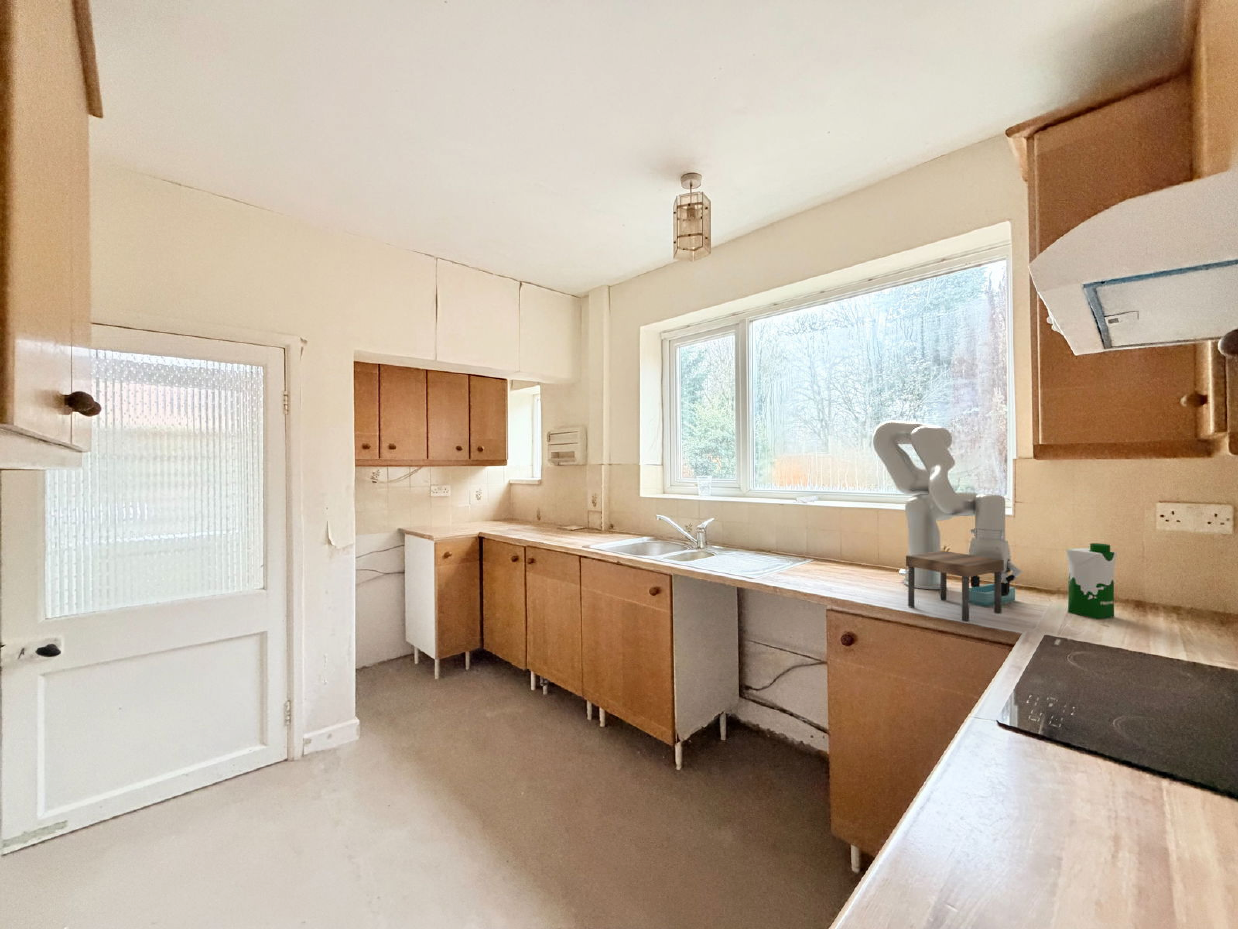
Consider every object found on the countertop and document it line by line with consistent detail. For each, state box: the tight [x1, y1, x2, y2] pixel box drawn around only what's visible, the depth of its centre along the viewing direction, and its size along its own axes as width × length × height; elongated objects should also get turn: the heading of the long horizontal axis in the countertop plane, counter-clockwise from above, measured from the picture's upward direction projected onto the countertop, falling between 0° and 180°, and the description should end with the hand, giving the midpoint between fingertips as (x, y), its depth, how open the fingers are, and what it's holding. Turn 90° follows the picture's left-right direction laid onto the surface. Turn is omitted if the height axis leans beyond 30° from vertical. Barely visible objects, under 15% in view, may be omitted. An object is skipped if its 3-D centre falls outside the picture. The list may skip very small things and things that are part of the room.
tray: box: [969, 583, 1016, 608], centre depth 156 cm, size 6×16×4 cm, turn 118°
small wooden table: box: [905, 550, 1004, 623], centre depth 147 cm, size 17×18×15 cm
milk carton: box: [1065, 542, 1118, 620], centre depth 142 cm, size 9×9×20 cm
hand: (989, 592), depth 156 cm, fingers open, 7 cm apart
